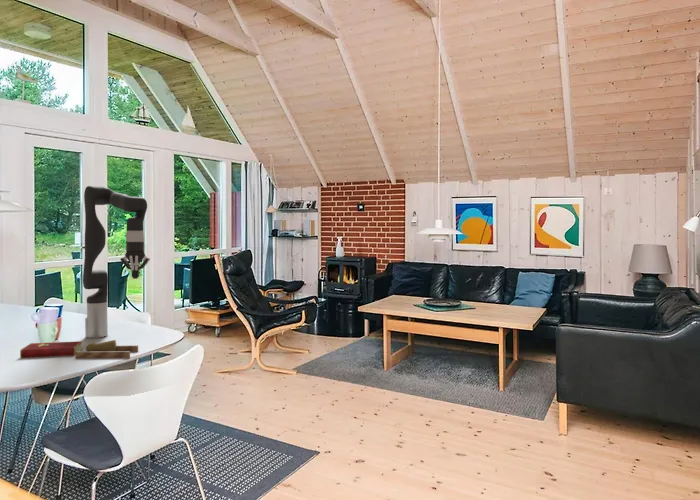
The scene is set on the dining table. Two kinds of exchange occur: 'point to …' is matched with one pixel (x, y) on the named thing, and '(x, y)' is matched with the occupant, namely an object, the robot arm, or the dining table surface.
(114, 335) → the dining table surface
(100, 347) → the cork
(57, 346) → the hardcover book
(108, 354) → the brown flat piece
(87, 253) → the robot arm
